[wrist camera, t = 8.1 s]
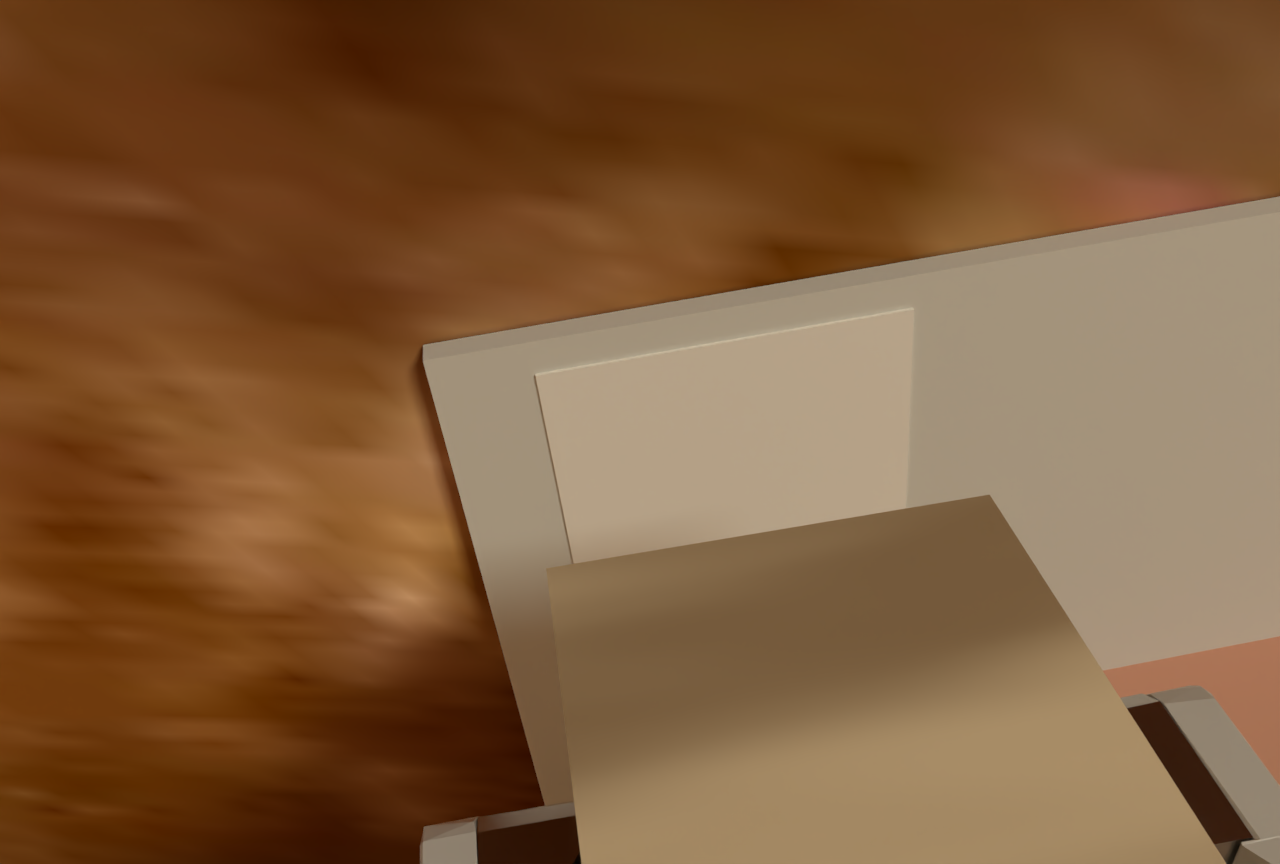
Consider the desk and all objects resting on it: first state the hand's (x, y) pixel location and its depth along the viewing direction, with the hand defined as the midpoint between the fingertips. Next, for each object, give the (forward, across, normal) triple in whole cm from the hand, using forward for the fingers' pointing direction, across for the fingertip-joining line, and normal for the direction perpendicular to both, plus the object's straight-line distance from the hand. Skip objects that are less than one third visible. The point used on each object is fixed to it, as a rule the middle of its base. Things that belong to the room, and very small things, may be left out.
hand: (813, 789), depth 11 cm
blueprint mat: (+6, -7, +5) cm, 11 cm away
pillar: (+2, 0, 0) cm, 2 cm away
